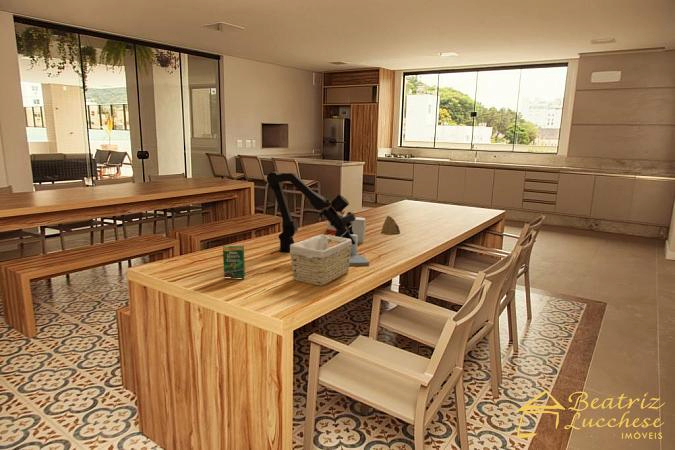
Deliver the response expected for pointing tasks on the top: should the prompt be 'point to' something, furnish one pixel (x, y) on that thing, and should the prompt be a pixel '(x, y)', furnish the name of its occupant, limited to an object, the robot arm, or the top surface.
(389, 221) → the rock
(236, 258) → the coffee box
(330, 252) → the storage basket
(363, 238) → the supplement box
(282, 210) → the robot arm
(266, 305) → the top surface
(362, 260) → the shelf board
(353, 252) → the white dome-topped cylinder
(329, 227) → the kitchen timer
